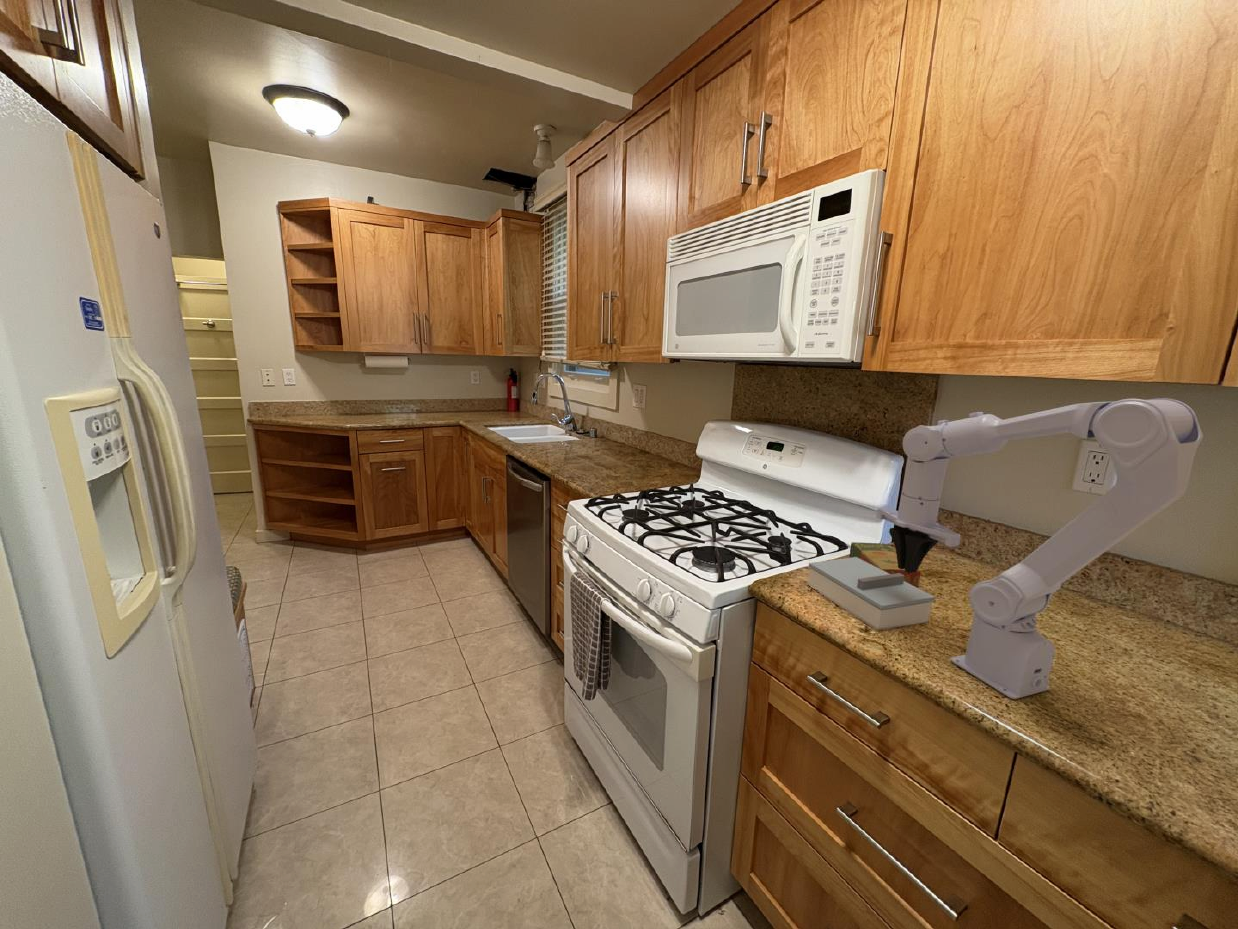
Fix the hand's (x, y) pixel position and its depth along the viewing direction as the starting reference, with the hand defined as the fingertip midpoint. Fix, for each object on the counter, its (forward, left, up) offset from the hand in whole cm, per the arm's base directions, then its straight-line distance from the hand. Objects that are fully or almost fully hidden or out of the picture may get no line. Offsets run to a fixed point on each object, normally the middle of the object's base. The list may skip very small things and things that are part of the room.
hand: (907, 569), depth 85 cm
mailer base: (+8, 0, -10) cm, 13 cm away
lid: (+8, 0, -6) cm, 10 cm away
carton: (+19, -16, -11) cm, 27 cm away
